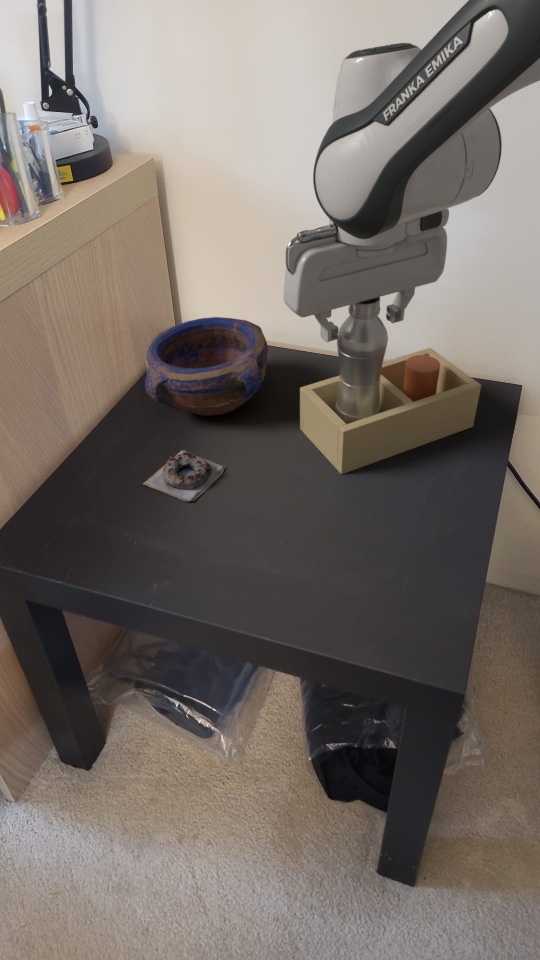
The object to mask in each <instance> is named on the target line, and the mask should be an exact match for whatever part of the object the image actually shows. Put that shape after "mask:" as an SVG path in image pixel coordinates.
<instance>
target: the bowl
mask: <svg viewBox="0 0 540 960" xmlns="http://www.w3.org/2000/svg"><path fill="white" fill-rule="evenodd" d="M150 341H151V342H150V343H149V344H148V346H147V347H146V350H145V352H144V356H143V363H144V369H145V372H146V375H145V378H144V388H145V393H146V394H147V395H148V396H149V397H150V399H152V400H153V401H155V402H157V403H160V404H162V405H165V406H167V407H170V408H172V409H175V410H176V411H182V412H186V413H188V414H189V413H190V414H195V415H198V416H211V417H212V416H221V415H225V414H229V413H231V412H232V411H235V410H236V409H238V408H239V407H241V406H242V405H244V404H245V403H246V402H247V401H249V400H250V399H251V398H252V397H253V396H254V395H255V394H256V393H257V391H259V390H260V388H261V386H262V384H263V381H264V379H265V377H266V371H267V360H268V353H269V347H268V346H269V345H268V343H267V339H266V337H265V335H264V332H263V330H262V328H261V326H259V325H257V324H255V323H253V322H251V321H248V320H246V319H239V318H234V317H233V318H232V317H221V316H213V317H211V316H210V317H202V318H197V319H191V320H187V321H184V322H182V323H179V324H176V325H173V326H171V327H170V328H167V329H165V330H163V331H161V332H159V333H158V334H157V335H155V336H153V338H152V339H151V340H150Z"/></svg>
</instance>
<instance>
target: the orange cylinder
mask: <svg viewBox="0 0 540 960" xmlns="http://www.w3.org/2000/svg"><path fill="white" fill-rule="evenodd" d="M439 371H440V362H439V361H438V360H437V359H435V358H434V357H431V356H427V355H416V356H412V357H410V358H408V359H407V361H406V366H405V374H404V383H403V393H404V394H405V395H406V396H407V397H408V398H410V399H411V400H412V401H413V402H415V401H418V400H421V399H424V398H427V397H430V396H433V395H436V391H437V384H438V378H439Z"/></svg>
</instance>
